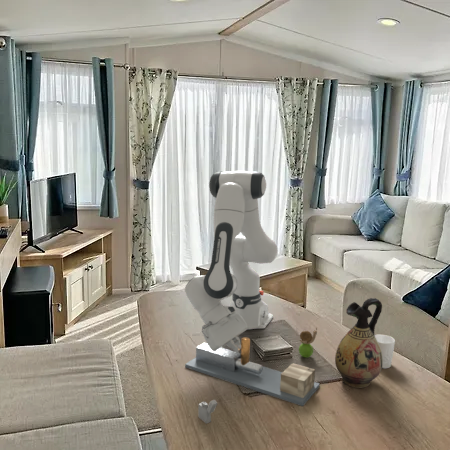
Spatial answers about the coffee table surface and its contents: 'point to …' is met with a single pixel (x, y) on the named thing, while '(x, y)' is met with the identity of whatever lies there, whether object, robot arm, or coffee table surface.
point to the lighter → (206, 410)
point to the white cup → (386, 348)
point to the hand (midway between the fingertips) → (239, 350)
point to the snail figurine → (306, 343)
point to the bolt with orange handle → (247, 358)
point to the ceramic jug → (360, 347)
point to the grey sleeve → (217, 357)
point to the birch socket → (297, 380)
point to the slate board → (253, 380)
